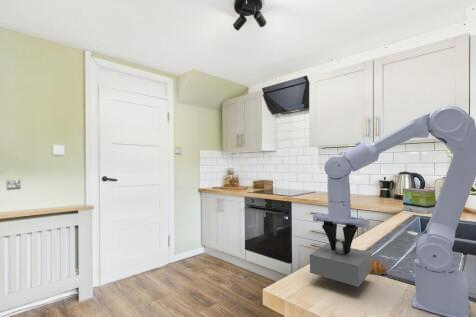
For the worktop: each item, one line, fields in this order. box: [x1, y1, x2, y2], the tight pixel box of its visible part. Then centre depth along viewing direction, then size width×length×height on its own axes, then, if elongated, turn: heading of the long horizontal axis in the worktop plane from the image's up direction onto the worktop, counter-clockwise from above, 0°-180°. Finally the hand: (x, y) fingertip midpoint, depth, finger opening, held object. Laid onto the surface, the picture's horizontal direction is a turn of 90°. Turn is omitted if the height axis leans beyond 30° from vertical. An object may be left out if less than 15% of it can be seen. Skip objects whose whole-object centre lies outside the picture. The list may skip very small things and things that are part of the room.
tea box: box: [402, 187, 437, 215], centre depth 164 cm, size 15×10×15 cm
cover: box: [309, 238, 372, 288], centre depth 68 cm, size 12×12×8 cm
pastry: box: [368, 258, 387, 276], centre depth 76 cm, size 9×7×4 cm
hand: (340, 251), depth 68 cm, fingers closed on cover, 3 cm apart
